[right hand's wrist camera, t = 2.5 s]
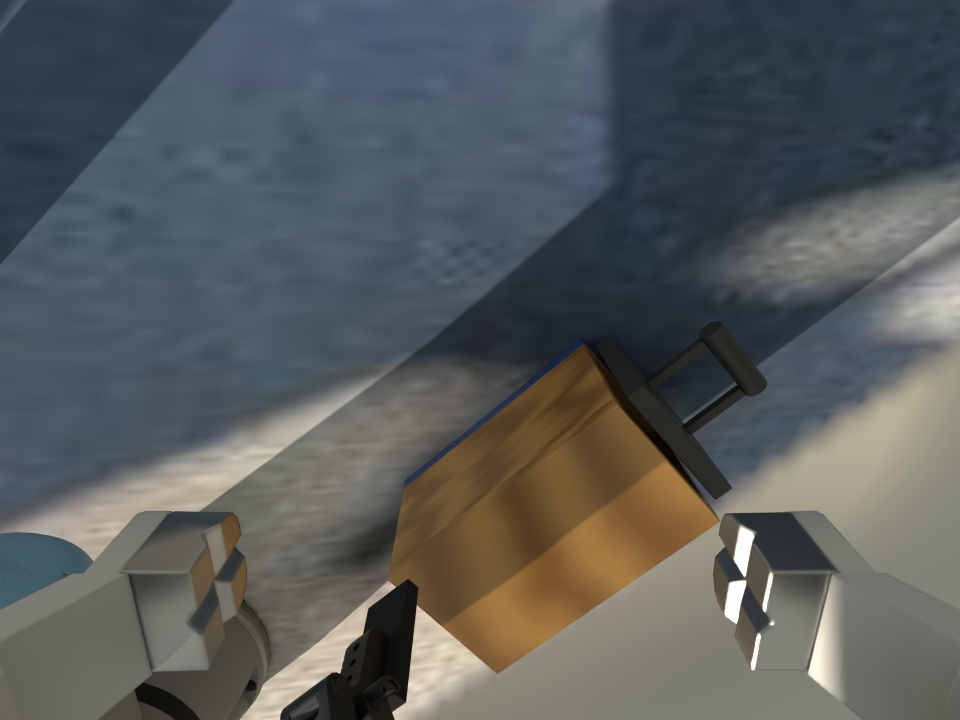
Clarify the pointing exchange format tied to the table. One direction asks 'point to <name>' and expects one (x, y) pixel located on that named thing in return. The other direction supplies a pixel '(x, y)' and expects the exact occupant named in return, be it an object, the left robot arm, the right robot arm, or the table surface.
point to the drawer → (663, 415)
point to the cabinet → (543, 512)
